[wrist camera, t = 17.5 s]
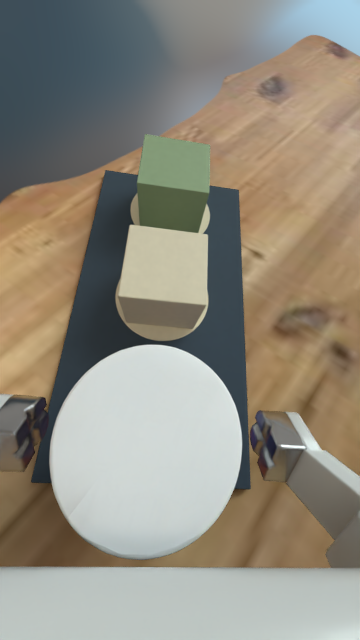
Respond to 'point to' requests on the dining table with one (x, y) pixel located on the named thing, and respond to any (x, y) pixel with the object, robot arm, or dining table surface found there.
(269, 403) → the dining table surface
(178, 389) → the pill bottle
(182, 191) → the sage block
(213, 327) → the mat
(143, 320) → the cream block
